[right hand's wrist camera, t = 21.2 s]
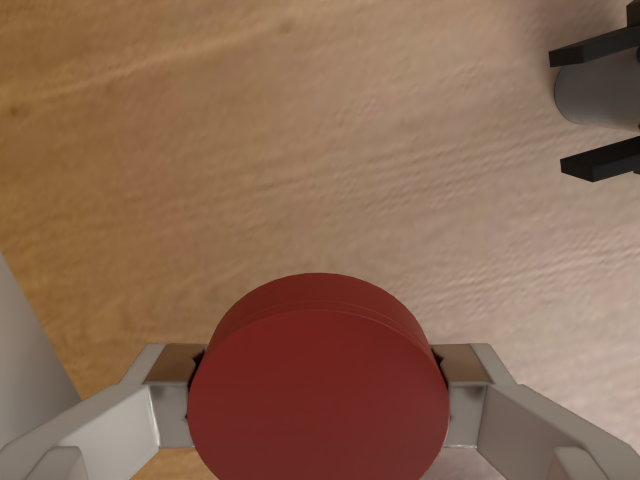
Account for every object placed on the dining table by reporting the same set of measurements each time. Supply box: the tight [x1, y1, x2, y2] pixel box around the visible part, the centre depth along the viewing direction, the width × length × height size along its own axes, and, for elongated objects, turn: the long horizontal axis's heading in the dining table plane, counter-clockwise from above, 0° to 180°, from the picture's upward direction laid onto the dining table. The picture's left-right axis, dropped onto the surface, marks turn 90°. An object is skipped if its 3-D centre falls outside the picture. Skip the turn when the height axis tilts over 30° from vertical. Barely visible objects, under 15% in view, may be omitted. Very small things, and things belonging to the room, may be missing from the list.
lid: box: [187, 273, 450, 480], centre depth 9 cm, size 6×6×2 cm
